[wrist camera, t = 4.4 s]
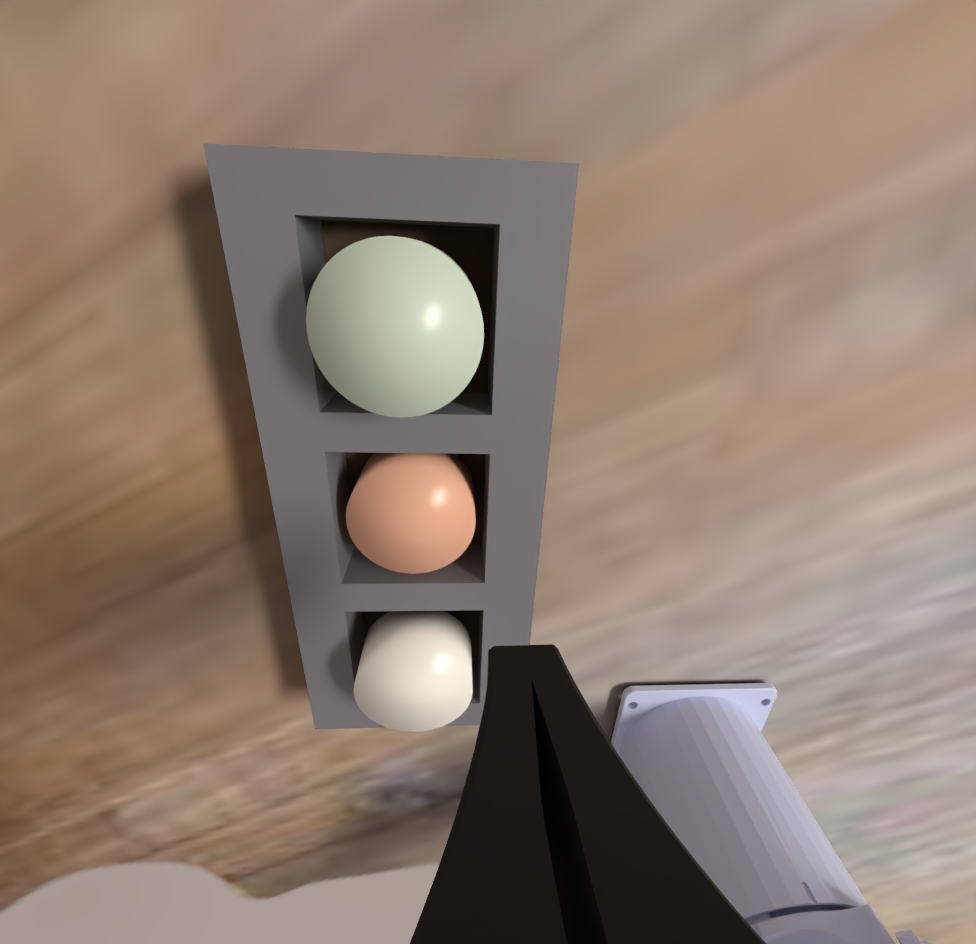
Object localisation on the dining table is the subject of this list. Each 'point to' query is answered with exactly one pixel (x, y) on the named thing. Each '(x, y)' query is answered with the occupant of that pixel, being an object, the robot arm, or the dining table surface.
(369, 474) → the terracotta button
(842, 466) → the dining table surface
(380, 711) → the cream button
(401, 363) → the sage button
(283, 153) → the button board
